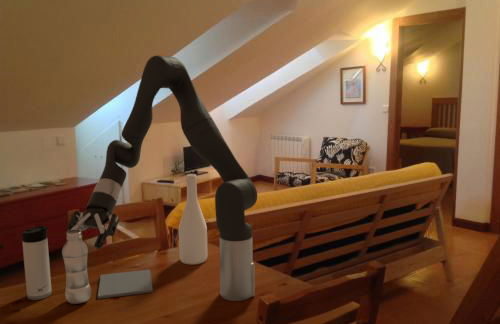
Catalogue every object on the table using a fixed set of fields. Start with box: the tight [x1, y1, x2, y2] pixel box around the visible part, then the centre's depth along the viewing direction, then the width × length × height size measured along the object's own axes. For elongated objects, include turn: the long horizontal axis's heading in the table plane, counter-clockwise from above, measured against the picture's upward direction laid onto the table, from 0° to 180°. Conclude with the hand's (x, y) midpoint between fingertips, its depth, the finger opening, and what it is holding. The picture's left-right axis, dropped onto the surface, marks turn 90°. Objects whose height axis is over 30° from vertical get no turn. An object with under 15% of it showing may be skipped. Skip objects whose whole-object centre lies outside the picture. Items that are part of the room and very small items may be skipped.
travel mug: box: [21, 225, 52, 301], centre depth 120 cm, size 6×7×20 cm
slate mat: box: [97, 269, 153, 300], centre depth 129 cm, size 15×15×1 cm
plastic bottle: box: [61, 229, 92, 305], centre depth 117 cm, size 6×7×20 cm
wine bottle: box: [178, 173, 208, 266], centre depth 145 cm, size 10×10×30 cm
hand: (83, 246), depth 120 cm, fingers open, 8 cm apart
